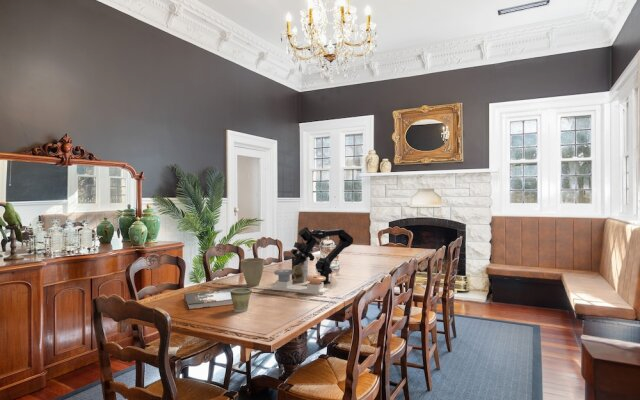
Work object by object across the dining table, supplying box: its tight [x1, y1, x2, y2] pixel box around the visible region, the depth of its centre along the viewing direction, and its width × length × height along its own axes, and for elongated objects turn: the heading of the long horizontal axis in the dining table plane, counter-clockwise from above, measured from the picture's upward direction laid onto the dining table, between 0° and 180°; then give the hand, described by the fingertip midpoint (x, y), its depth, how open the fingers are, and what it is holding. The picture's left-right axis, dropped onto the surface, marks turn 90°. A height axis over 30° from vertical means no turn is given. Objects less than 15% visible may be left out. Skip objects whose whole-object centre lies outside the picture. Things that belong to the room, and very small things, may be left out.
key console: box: [270, 279, 330, 295], centre depth 242 cm, size 34×9×5 cm, turn 67°
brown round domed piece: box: [305, 274, 326, 285], centre depth 238 cm, size 12×12×6 cm
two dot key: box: [273, 268, 294, 282], centre depth 246 cm, size 12×12×6 cm
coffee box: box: [291, 255, 309, 283], centre depth 268 cm, size 9×6×16 cm
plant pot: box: [240, 257, 266, 287], centre depth 257 cm, size 15×15×16 cm
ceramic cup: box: [229, 287, 253, 313], centre depth 202 cm, size 13×10×10 cm
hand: (294, 265), depth 248 cm, fingers closed
